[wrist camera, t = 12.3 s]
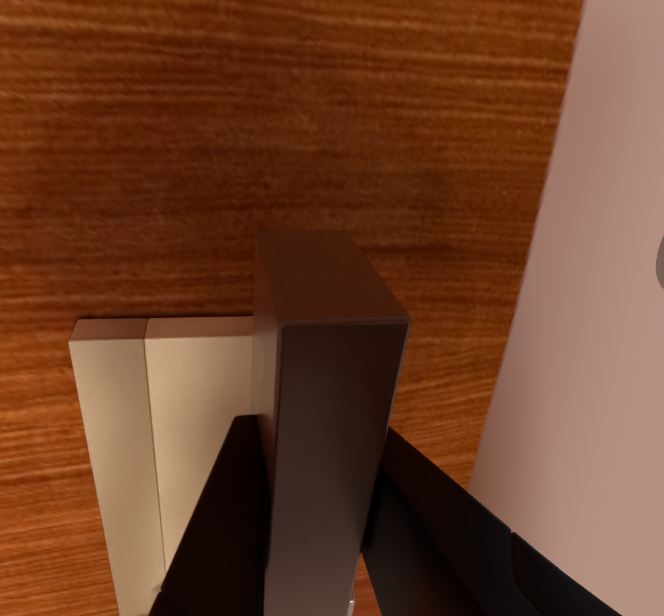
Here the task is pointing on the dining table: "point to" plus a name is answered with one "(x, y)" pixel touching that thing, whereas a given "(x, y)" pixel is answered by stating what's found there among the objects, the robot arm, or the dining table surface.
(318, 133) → the dining table surface
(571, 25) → the dining table surface
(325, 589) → the fork
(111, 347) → the board
